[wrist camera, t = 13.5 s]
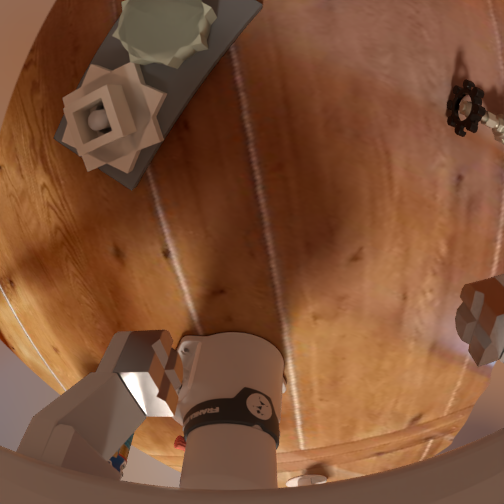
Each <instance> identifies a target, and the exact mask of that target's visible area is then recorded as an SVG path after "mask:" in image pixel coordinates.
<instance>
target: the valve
mask: <svg viewBox="0 0 504 504" xmlns="http://www.w3.org/2000/svg"><path fill="white" fill-rule="evenodd" d="M463 87H464V88H461V87H459V86H457V85H456V86H454V88H453V93H454V94H455V98H454V100H453V101H451V100H449V101H448V102H447V108H448V109H450V110H452V115H451V116H449V117H448V120H447V123H448V125H450V126H452V127H455V133H456V134H457V135H459V136H462V137H464V136H465V135H466V132H464V131H463V130H464V127H466V129H467V130H468V131H471V132H473V133H475V132H477V130H478V122H479V121H481V124H483V125H485V126H487V127H490V128H492V132H493V134H494V137H495V140H496V141H498V142H500V143H502V144H504V115H503V114H497V115H494V114H492V113H490V112H489V111H486V110H485V108H484V107H482V106H481V105H482V99H481V98H483V96H484V91H483V90H481V89H479V88H478V87H475V85H474V83H473V82H471V81H469V80H467V79H466V80H464V82H463ZM471 87H474V88H473V89H472V91H471ZM466 95H469V96H470V97H471V101H472V102H468V101H464V100H463V101H462V102H461V104H460V105H459V103H460V101H461V99H462V98H463V97H464V96H466ZM480 97H481V98H480ZM458 110H459V111H460V113H461V114H463V115H465V117H466V119H465V120H464V121H461V120H460V118H459V116H458ZM456 124H457V125H456Z"/></svg>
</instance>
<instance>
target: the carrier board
mask: <svg viewBox="0 0 504 504" xmlns="http://www.w3.org/2000/svg"><path fill="white" fill-rule="evenodd" d="M121 3H122V13H121V15H120V17H119V18H118V20H117V21H116V23H115V24H114V26H113V27H112V29H111V30H110V32H109V33H108V35H107V36H106V38H105V39H104V41H103V43H102V44H101V46H100V48H99V49H98V51H97V53H96V54H95V56H94V58H93V59H92V61H91V63H90V65H91V64H94V65H99V66H102V67H104V68H107V69H110V70H112V71H113V70H115V69H117V68H119V67H121V66H123V65H125V64H127V63H130V62H132V63H136V64H139V65H140V68H141V71H142V74H143V78H144V81H145V84H146V85H149V86H151V87H153V88H156V89H158V90H160V91H163V92H165V93H167V96H166V98H165V100H164V102H163V104H162V106H161V108H160V110H159V112H158V114H157V116H156V117H157V120H158V123H159V126H160V129H161V132H162V135H163V138H164V139H165V138H166V136H167V134H168V133H169V131H170V130H171V128H172V127H173V125H174V124H175V122H176V121H177V119H178V117H179V116H180V114H181V113H182V111H183V110H184V109H185V107H186V106H187V104H188V103H189V101H190V100H191V98H192V97H193V95H194V94H195V93H196V91H197V90H198V88H199V87H200V86H201V84H202V83H203V81H204V80H205V79H206V77H207V76H208V75H209V73H210V72H211V71H212V69H213V68H214V67H215V65H216V64H217V63H218V61H219V60H220V59H221V57H222V56H223V55H224V54H225V52H226V51H227V50H228V48H229V47H230V46H231V45H232V43H233V42H234V41H235V40H236V39H237V37H238V36H239V35H240V34H241V32H242V31H243V30H244V29H245V28H246V26H247V25H248V24H249V23H250V22H251V21H252V19H253V18H254V17H255V16H256V15H257V14H258V13H259V11H260V10H261V9H262V4H261V3H259V2H258V1H256V0H125V1H123V2H121ZM90 65H89V66H88V68H87V70H86V72H85V73H84V75H83V77H82V79H81V81H80V83H79V85H78V87H77V89H79V88H80V87H81V86H82V83H83V81H84V79H85V76H86V74H87V72H88V69H89V67H90ZM77 89H76V90H77ZM88 124H89V127H90V128H91V129H92V130H95V131H98V130H102V129H105V130H107V131H109V132H111V131H112V129H111V126H110V123H109V120H108V117H107V114H106V111H105V108H104V105H103V107H102V109H101V110H96V111H93V112H92V113H91V114H90V115H89V118H88ZM66 126H67V120H66V117H65V114H64V115H63V118H62V120H61V122H60V124H59V127H58V129H57V131H56V134H55V136H54V138H53V139H55V140H56V141H58V142H59V143H61V144H62V145H64V146H65V147H67V148H68V149H70V150H71V151H73V152H74V153H76V154H77V155H78V152H77V149H76V148H74V147H72V146H70V145H68V144H66V143H64V142H62V139H63V135H64V132H65V129H66ZM163 141H164V140H163ZM163 141H161V142H159V143H156V144H154V145H151V146H149V147H146V148H143V149H141V151H140V154H139V156H138V158H137V161H136V163H135V166H134V168H133V170H132V171H131V172H129V173H128V174H127V173H125V172H123V171H121V170H119V169H117V168H115V167H113V166H111V165H109V164H104V165H102V166H100V167H98V169H100V170H101V171H103V172H104V173H106V174H107V175H109V176H110V177H112V178H113V179H115V180H116V181H118V182H119V183H121V184H122V185H124V186H125V187H127V188H128V189H130V190H131V191H132V190H133V189H134V188H135V187H136V186H137V185H138V183H139V181H140V179H141V178H142V176H143V174H144V172H145V171H146V169H147V167H148V165H149V164H150V162H151V160H152V159H153V157H154V155H155V154H156V152H157V150H158V149H159V147H160V146H161V144H162V142H163ZM80 157H82V156H80Z"/></svg>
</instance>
